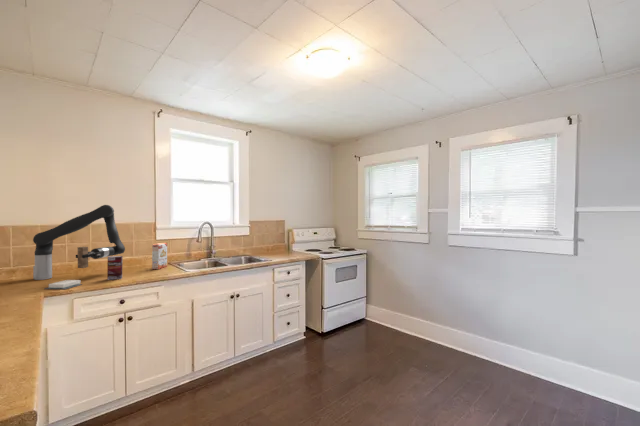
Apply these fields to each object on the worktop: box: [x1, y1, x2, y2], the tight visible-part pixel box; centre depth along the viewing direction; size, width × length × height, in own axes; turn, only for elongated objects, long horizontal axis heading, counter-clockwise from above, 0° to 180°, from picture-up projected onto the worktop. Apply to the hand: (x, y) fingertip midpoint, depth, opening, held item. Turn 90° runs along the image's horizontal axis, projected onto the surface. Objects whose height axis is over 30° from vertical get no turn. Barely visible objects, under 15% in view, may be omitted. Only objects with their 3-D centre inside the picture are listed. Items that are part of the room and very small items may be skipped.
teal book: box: [48, 279, 81, 288], centre depth 193 cm, size 10×2×12 cm
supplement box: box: [106, 255, 123, 281], centre depth 215 cm, size 9×5×16 cm, turn 117°
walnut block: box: [77, 246, 89, 269], centre depth 206 cm, size 4×4×14 cm
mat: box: [44, 283, 83, 290], centre depth 192 cm, size 14×12×1 cm
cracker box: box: [151, 242, 168, 270], centre depth 257 cm, size 14×6×21 cm, turn 179°
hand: (79, 256), depth 203 cm, fingers closed on walnut block, 4 cm apart
